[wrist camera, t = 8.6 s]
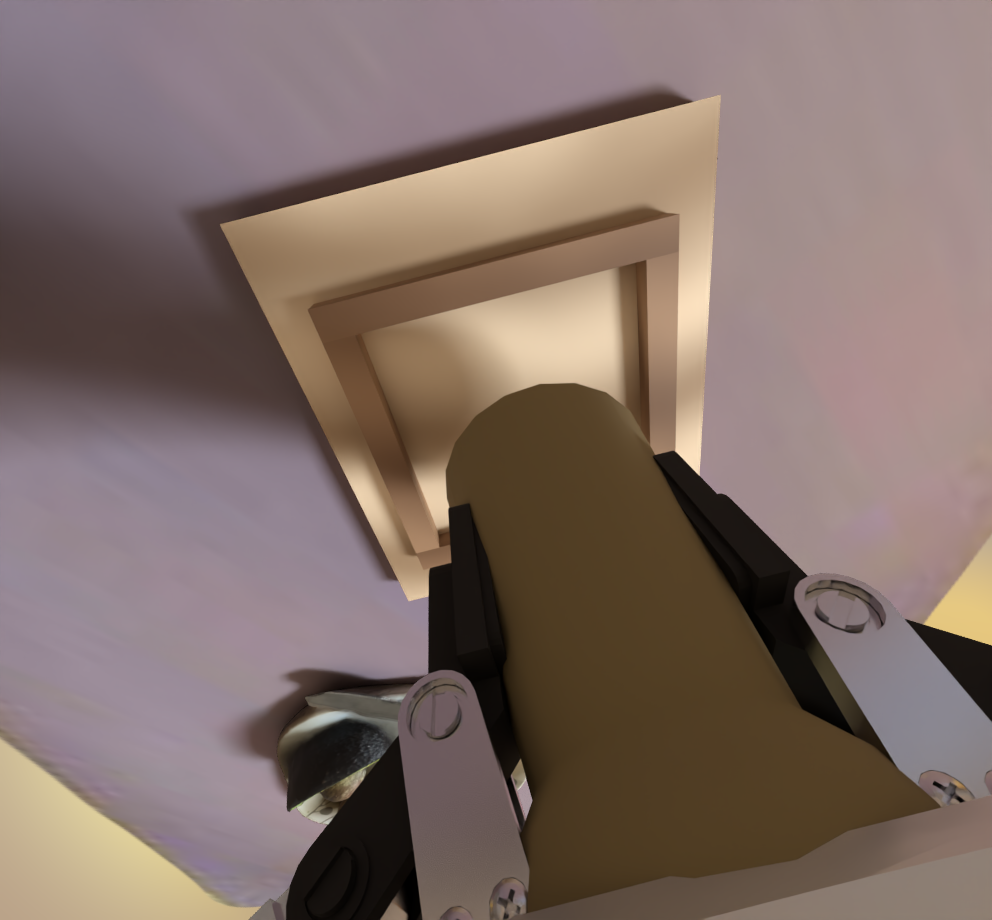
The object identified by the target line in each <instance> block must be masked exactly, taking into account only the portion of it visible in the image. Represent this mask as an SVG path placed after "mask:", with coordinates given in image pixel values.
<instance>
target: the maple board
mask: <svg viewBox="0 0 992 920" xmlns="http://www.w3.org/2000/svg"><path fill="white" fill-rule="evenodd" d="M720 99H721V95H718V96H714V97H710V98H706V99H703V100H699V101H695V102H691V103H687V104H683V105H679V106H676V107H672V108H668V109H664V110H660V111H656V112H652V113H648V114H645V115H641V116H637V117H633V118H629V119H625V120H621V121H618V122H614V123H610V124H606V125H602V126H598V127H594V128H590V129H587V130H583V131H579V132H575V133H571V134H567V135H563V136H560V137H556V138H552V139H548V140H544V141H540V142H536V143H532V144H529V145H525V146H521V147H517V148H513V149H509V150H505V151H501V152H498V153H494V154H490V155H486V156H482V157H478V158H474V159H471V160H467V161H463V162H459V163H455V164H451V165H447V166H443V167H440V168H436V169H432V170H428V171H424V172H420V173H416V174H413V175H409V176H405V177H401V178H397V179H393V180H389V181H385V182H382V183H378V184H374V185H370V186H366V187H362V188H358V189H355V190H351V191H347V192H343V193H339V194H335V195H331V196H327V197H324V198H320V199H316V200H312V201H308V202H304V203H300V204H297V205H293V206H289V207H285V208H281V209H277V210H273V211H269V212H266V213H262V214H258V215H254V216H250V217H246V218H242V219H239V220H235V221H231V222H227V223H223V224H220V226H221V228H222V230H223V232H224V234H225V236H226V238H227V240H228V242H229V244H230V246H231V248H232V250H233V252H234V254H235V256H236V258H237V260H238V262H239V264H240V266H241V268H242V270H243V272H244V274H245V276H246V278H247V280H248V282H249V284H250V286H251V288H252V290H253V292H254V294H255V296H256V298H257V300H258V302H259V304H260V306H261V308H262V310H263V312H264V314H265V316H266V318H267V320H268V322H269V324H270V326H271V328H272V330H273V332H274V334H275V336H276V338H277V340H278V342H279V344H280V346H281V348H282V350H283V352H284V354H285V356H286V357H287V359H288V361H289V363H290V365H291V367H292V369H293V371H294V373H295V375H296V377H297V379H298V381H299V383H300V385H301V387H302V389H303V391H304V393H305V395H306V397H307V399H308V401H309V403H310V405H311V407H312V409H313V411H314V413H315V415H316V417H317V419H318V421H319V423H320V425H321V427H322V429H323V431H324V433H325V435H326V437H327V439H328V441H329V443H330V445H331V447H332V449H333V451H334V453H335V455H336V457H337V459H338V461H339V463H340V465H341V467H342V469H343V471H344V473H345V475H346V477H347V479H348V481H349V483H350V485H351V487H352V489H353V491H354V493H355V495H356V497H357V499H358V501H359V503H360V505H361V507H362V509H363V511H364V513H365V515H366V517H367V519H368V521H369V523H370V525H371V527H372V529H373V531H374V533H375V535H376V537H377V539H378V541H379V543H380V545H381V547H382V549H383V551H384V553H385V555H386V557H387V559H388V561H389V563H390V565H391V567H392V569H393V571H394V573H395V575H396V577H397V579H398V581H399V583H400V585H401V587H402V589H403V591H404V593H405V595H406V597H407V599H408V601H412V600H416V599H419V598H423V597H427V596H429V570H430V568H432V567H436V566H440V565H444V564H448V563H451V550H450V533H449V516H448V509H449V504H448V501H447V494H446V468H447V465H448V462H449V459H450V456H451V453H452V450H453V447H454V444H455V442H456V441H457V439H458V438H459V437H460V435H461V434H462V433H463V431H464V430H465V429H466V428H467V426H468V425H469V424H470V422H471V421H472V420H473V419H474V417H475V416H476V415H478V414H479V413H481V412H482V411H483V410H485V409H486V408H488V407H489V406H491V405H492V404H493V403H495V402H496V401H498V400H499V399H501V398H502V397H503V396H505V395H508V394H511V393H514V392H517V391H520V390H523V389H526V388H529V387H532V386H535V385H538V384H554V383H577V384H580V385H584V386H587V387H590V388H594V389H597V390H600V391H603V392H607V393H608V394H609V395H610V396H612V397H613V398H614V399H616V400H617V401H618V402H620V403H621V404H622V405H623V406H625V407H626V408H627V409H629V410H630V411H631V413H632V415H633V417H634V418H635V420H636V422H637V424H638V425H639V427H640V429H641V431H642V432H643V434H644V436H645V438H646V439H647V441H648V443H649V444H650V446H651V448H652V450H653V451H654V453H655V455H657V454H661V453H665V452H669V451H675V452H677V453H678V454H679V455H680V456H681V457H682V458H683V459H684V460H685V461H686V462H687V464H688V465H689V466H690V467H691V468H692V469H693V470H694V471H695V472H696V473H697V474H698V475H699V473H700V455H701V437H702V419H703V402H704V384H705V366H706V348H707V330H708V313H709V295H710V277H711V259H712V241H713V223H714V206H715V188H716V170H717V152H718V134H719V116H720Z"/></svg>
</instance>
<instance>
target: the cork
mask: <svg viewBox="0 0 992 920" xmlns="http://www.w3.org/2000/svg"><path fill="white" fill-rule="evenodd" d="M653 455H655V453H654V451H653V450H652V448H651V446H650V444H649V443H648V441H647V439H646V438H645V436H644V434H643V432H642V431H641V429H640V427H639V425H638V424H637V422H636V420H635V418H634V417H633V415H632V413H631V411H630V410H629V409H627V408H626V407H625V406H623V405H622V404H621V403H620V402H618V401H617V400H616V399H614V398H613V397H612V396H610V395H609V394H608V393H607V392H603V391H600V390H597V389H594V388H590V387H587V386H584V385H580V384H577V383H554V384H538V385H535V386H532V387H529V388H526V389H523V390H520V391H517V392H514V393H511V394H508V395H505V396H503V397H502V398H501V399H499V400H498V401H496V402H495V403H493V404H492V405H491V406H489V407H488V408H486V409H485V410H483V411H482V412H481V413H479V414H478V415H476V416H475V417H474V419H473V420H472V421H471V422H470V424H469V425H468V426H467V428H466V429H465V430H464V431H463V433H462V434H461V435H460V437H459V438H458V439H457V441H456V442H455V444H454V447H453V450H452V453H451V456H450V459H449V462H448V465H447V468H446V494H447V501H448V504H449V508H451V507H455V506H458V505H462V504H466V503H470V509H471V515H472V518H473V520H474V523H475V526H476V528H477V531H478V533H479V536H480V539H481V541H482V544H483V546H484V549H485V551H486V554H487V558H488V563H489V568H490V573H491V578H492V584H493V589H494V594H495V599H496V605H497V610H498V615H499V620H500V625H501V631H502V636H503V641H504V646H505V652H506V657H507V660H506V662H505V663H504V665H503V671H502V683H503V687H504V692H505V697H506V702H507V707H508V712H509V717H510V722H511V726H512V730H513V733H514V737H515V740H516V744H517V747H518V751H519V754H520V758H521V761H522V765H523V768H524V772H525V775H526V779H527V782H528V786H529V790H530V793H531V797H532V800H533V801H532V804H531V807H530V810H529V813H528V815H527V818H526V821H525V824H524V827H523V830H522V832H521V834H522V841H523V845H524V849H525V853H526V857H527V861H528V865H529V885H528V913H530V912H534V911H538V910H542V909H546V908H550V907H554V906H557V905H561V904H565V903H569V902H573V901H577V900H580V899H584V898H588V897H592V896H596V895H600V894H604V893H607V892H611V891H615V890H619V889H623V888H627V887H630V886H634V885H638V884H642V883H646V882H650V881H654V880H657V879H661V878H665V877H669V876H673V877H685V878H699V877H704V876H710V875H716V874H721V873H727V872H732V871H738V870H743V869H749V868H754V867H760V866H766V865H771V864H777V863H782V862H788V861H793V860H797V859H799V858H801V857H803V856H804V855H806V854H808V853H810V852H811V851H813V850H815V849H817V848H818V847H820V846H822V845H824V844H825V843H827V842H829V841H831V840H833V839H834V838H836V837H838V836H840V835H841V834H843V833H845V832H847V831H850V830H854V829H858V828H862V827H866V826H870V825H874V824H878V823H882V822H886V821H890V820H894V819H898V818H902V817H906V816H910V815H914V814H918V813H922V812H926V811H930V810H934V809H938V808H942V807H941V806H940V805H939V804H938V803H937V802H936V801H935V800H934V799H933V798H932V797H931V796H929V795H928V794H927V793H926V792H925V791H924V790H923V789H922V788H920V787H919V786H918V785H917V784H916V783H914V782H913V781H912V780H911V779H910V778H909V777H907V776H906V775H905V774H904V773H903V772H901V771H900V770H899V769H898V768H897V767H896V766H895V765H894V764H893V763H892V762H891V761H890V760H889V759H888V758H887V757H886V756H885V755H884V754H883V753H882V752H880V751H879V750H878V749H877V748H876V747H875V746H873V745H871V744H869V743H867V742H865V741H863V740H861V739H859V738H857V737H855V736H853V735H851V734H849V733H847V732H846V731H844V730H842V729H840V728H838V727H836V726H834V725H832V724H830V723H828V722H826V721H824V720H822V719H820V718H818V717H816V716H814V715H812V714H810V713H808V712H806V711H804V710H803V709H802V708H801V706H800V705H799V703H798V701H797V700H796V698H795V696H794V694H793V693H792V691H791V689H790V687H789V686H788V684H787V682H786V680H785V679H784V677H783V675H782V674H781V672H780V670H779V668H778V667H777V665H776V663H775V661H774V660H773V658H772V656H771V654H770V653H769V651H768V649H767V647H766V646H765V644H764V642H763V641H762V639H761V637H760V635H759V634H758V632H757V630H756V628H755V627H754V625H753V623H752V621H751V620H750V618H749V616H748V615H747V613H746V611H745V609H744V608H743V606H742V604H741V602H740V601H739V599H738V597H737V595H736V594H735V592H734V590H733V588H732V587H731V585H730V583H729V582H728V580H727V578H726V576H725V575H724V573H723V572H722V570H721V568H720V567H719V565H718V564H717V562H716V561H715V559H714V558H713V556H712V555H711V553H710V551H709V550H708V548H707V547H706V545H705V544H704V542H703V541H702V539H701V538H700V536H699V534H698V533H697V531H696V530H695V528H694V527H693V525H692V524H691V522H690V521H689V519H688V517H687V516H686V514H685V513H684V511H683V510H682V508H681V507H680V505H679V504H678V502H677V500H676V498H675V496H674V494H673V492H672V490H671V488H670V486H669V484H668V482H667V480H666V478H665V476H664V474H663V472H662V470H661V468H660V466H659V465H658V464H657V462H656V461H655V459H654V458H653Z"/></svg>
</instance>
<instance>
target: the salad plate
mask: <svg viewBox="0 0 992 920" xmlns="http://www.w3.org/2000/svg"><path fill="white" fill-rule="evenodd" d="M413 685H414V684H394V685H378V686H365V687H356V688H348V689H343V690H339V691H329V692H323V693H319V694H315V695H311V696H308V697H305V698H306V701H307V702H308V706H306V707H305V708H304V709H302V710H301V711H300V712H299V713H298V714H297V715H296V716H295V717H294V718H293V719H292V720H291V721H290V722H289V723H288V724H287V725H286V726H285V728H284V729H283V730H282V732H281V734H280V736H279V739H278V746H277V757H278V760H279V763H280V766H281V769H282V771H283V773H284V777H285V780H286V781H287V783H288V792H287V810H288V811H289V812H290V811H291V810H293V809H294V808H297V810H298V811H299V812H300V813H301V814H302V815H303V816H304V817H306V818H308V819H309V820H312V821H314V822H318V823H320V824H326V825H328V824H329V823H330V821H331V820H332V819H333V818H334V816H335V815H336V814H337V813H338V811H339V810H340V809H341V807H342V806H343V805H344V804H345V802H346V801H347V800H348V799H349V797H350V796H351V795H352V793H353V792H354V791H355V790H356V788H357V787H358V786H359V785H360V783H361V782H362V781H363V780H364V778H365V777H366V776H367V774H368V773H369V772H370V771H371V769H372V768H373V767H374V766H375V764H376V763H377V762H378V760H379V759H380V758H381V757H382V755H383V754H384V753H385V752H386V750H387V749H388V748H389V746H390V745H391V744H392V743H393V741H394V740H395V739H396V738H397V736H398V735H399V734H398V713H399V710H400V706H401V703H402V701H403V699H404V697H405V696H406V694H407V692H408V691H409V689H410V688H411V687H412V686H413ZM512 776H513V779H514V783H515V786H516V789H517V790H518V789H519V788H520V787H521V786H522V785H523V783H524V782H525V780H526V775H525V772H524V768H523V765H522V761H521V759H520V761H519V762H518V764H517V766H516V768H515V769H514V771H513V773H512Z"/></svg>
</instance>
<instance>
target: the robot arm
mask: <svg viewBox="0 0 992 920" xmlns="http://www.w3.org/2000/svg"><path fill="white" fill-rule="evenodd" d="M653 458H654V459H655V461H656V462H657V464H658V465H659V466H660V468H661V470H662V472H663V474H664V476H665V478H666V480H667V482H668V484H669V486H670V488H671V490H672V492H673V494H674V496H675V498H676V500H677V502H678V504H679V505H680V507H681V508H682V510H683V511H684V513H685V514H686V516H687V517H688V519H689V521H690V522H691V524H692V525H693V527H694V528H695V530H696V531H697V533H698V534H699V536H700V538H701V539H702V541H703V542H704V544H705V545H706V547H707V548H708V550H709V551H710V553H711V555H712V556H713V558H714V559H715V561H716V562H717V564H718V565H719V567H720V568H721V570H722V572H723V573H724V575H725V576H726V578H727V580H728V582H729V583H730V585H731V587H732V588H733V590H734V592H735V594H736V595H737V597H738V599H739V601H740V602H741V604H742V606H743V608H744V609H745V611H746V613H747V615H748V616H749V618H750V620H751V621H752V623H753V625H754V627H755V628H756V630H757V632H758V634H759V635H760V637H761V639H762V641H763V642H764V644H765V646H766V647H767V649H768V651H769V653H770V654H771V656H772V658H773V660H774V661H775V663H776V665H777V667H778V668H779V670H780V672H781V674H782V675H783V677H784V679H785V680H786V682H787V684H788V686H789V687H790V689H791V691H792V693H793V694H794V696H795V698H796V700H797V701H798V703H799V705H800V706H801V708H802V709H803V710H804V711H806V712H808V713H810V714H812V715H814V716H816V717H818V718H820V719H822V720H824V721H826V722H828V723H830V724H832V725H834V726H836V727H838V728H840V729H842V730H844V731H846V732H847V733H849V734H851V735H853V736H855V737H857V738H859V739H861V740H863V741H865V742H867V743H869V744H871V745H873V746H875V747H876V748H877V749H878V750H879V751H880V752H882V753H883V754H884V755H885V756H886V757H887V758H888V759H889V760H890V761H891V762H892V763H893V764H894V765H895V766H896V767H897V768H898V769H899V770H900V771H901V772H903V773H904V774H905V775H906V776H907V777H909V778H910V779H911V780H912V781H913V782H914V783H916V784H917V785H918V786H919V787H920V788H922V789H923V790H924V791H925V792H926V793H927V794H928V795H929V796H931V797H932V798H933V799H934V800H935V801H936V802H937V803H938V804H939V805H940V806H941V807H942V808H938V809H934V810H930V811H926V812H922V813H918V814H914V815H910V816H906V817H902V818H898V819H894V820H890V821H886V822H882V823H878V824H874V825H870V826H866V827H862V828H858V829H854V830H850V831H847V832H845V833H843V834H841V835H840V836H838V837H836V838H834V839H833V840H831V841H829V842H827V843H825V844H824V845H822V846H820V847H818V848H817V849H815V850H813V851H811V852H810V853H808V854H806V855H804V856H803V857H801V858H799V859H797V860H793V861H788V862H782V863H777V864H771V865H766V866H760V867H754V868H749V869H743V870H738V871H732V872H727V873H721V874H716V875H710V876H704V877H699V878H685V877H673V876H669V877H665V878H661V879H657V880H654V881H650V882H646V883H642V884H638V885H634V886H630V887H627V888H623V889H619V890H615V891H611V892H607V893H604V894H600V895H596V896H592V897H588V898H584V899H580V900H577V901H573V902H569V903H565V904H561V905H557V906H554V907H550V908H546V909H542V910H538V911H534V912H530V913H528V885H529V865H528V861H527V857H526V853H525V849H524V845H523V841H522V834H521V832H522V830H523V827H524V824H525V821H526V816H525V813H524V810H523V807H522V804H521V801H520V798H519V795H518V792H517V789H516V786H515V783H514V779H513V776H512V773H513V771H514V769H515V768H516V766H517V764H518V762H519V761H520V759H521V758H520V754H519V751H518V747H517V744H516V740H515V737H514V733H513V730H512V726H511V722H510V717H509V712H508V707H507V702H506V697H505V692H504V687H503V683H502V671H503V665H504V663H505V662H506V660H507V657H506V652H505V646H504V641H503V636H502V631H501V625H500V620H499V615H498V610H497V605H496V599H495V594H494V589H493V584H492V578H491V573H490V568H489V563H488V558H487V554H486V551H485V549H484V546H483V544H482V541H481V539H480V536H479V533H478V531H477V528H476V526H475V523H474V520H473V518H472V515H471V509H470V503H466V504H462V505H458V506H455V507H451V508H449V509H448V516H449V533H450V550H451V563H448V564H444V565H440V566H436V567H432V568H430V570H429V657H428V675H426V676H424V677H423V678H421V679H420V680H418V681H417V682H416V683H415V684H414V685H413V686H412V687H411V688H410V689H409V691H408V692H407V694H406V696H405V697H404V699H403V701H402V703H401V706H400V710H399V713H398V734H399V735H398V736H397V738H396V739H395V740H394V741H393V743H392V744H391V745H390V746H389V748H388V749H387V750H386V752H385V753H384V754H383V755H382V757H381V758H380V759H379V760H378V762H377V763H376V764H375V766H374V767H373V768H372V769H371V771H370V772H369V773H368V774H367V776H366V777H365V778H364V780H363V781H362V782H361V783H360V785H359V786H358V787H357V788H356V790H355V791H354V792H353V793H352V795H351V796H350V797H349V799H348V800H347V801H346V802H345V804H344V805H343V806H342V807H341V809H340V810H339V811H338V813H337V814H336V815H335V816H334V818H333V819H332V820H331V821H330V823H329V824H328V825H327V827H326V828H325V829H324V830H323V832H322V833H321V834H320V835H319V837H318V838H317V839H316V841H315V842H314V843H313V844H312V846H311V847H310V848H309V850H308V851H307V853H306V854H305V856H304V857H303V859H302V861H301V862H300V864H299V865H298V867H297V870H296V872H295V875H294V877H293V880H292V882H291V884H290V887H289V888H288V889H287V890H286V891H285V892H284V893H283V894H282V895H281V896H280V897H279V898H278V899H277V900H276V901H274V900H272V899H269V900H268V901H267V902H266V903H265V904H264V905H263V906H262V907H261V908H260V909H259V910H258V911H257V912H256V913H255V914H254V915H253V916H252V917H251V918H250V919H249V920H992V646H991V645H988V644H985V643H981V642H978V641H975V640H972V639H969V638H965V637H962V636H959V635H955V634H952V633H949V632H946V631H942V630H939V629H936V628H933V627H929V626H926V625H923V624H920V623H916V622H913V621H910V620H907V619H904V618H903V617H902V615H901V614H900V613H899V612H898V611H897V610H896V608H895V607H894V606H893V605H892V604H891V602H890V601H889V600H888V599H886V598H885V597H884V596H883V595H882V594H881V593H880V592H879V591H877V590H876V589H874V588H872V587H871V586H869V585H867V584H866V583H864V582H861V581H859V580H856V579H854V578H851V577H848V576H843V575H838V574H825V573H820V574H815V575H811V576H807V575H806V574H805V573H804V572H803V571H802V570H801V569H800V568H799V567H798V566H797V565H796V564H795V563H794V562H793V561H792V560H791V559H790V558H789V557H788V556H787V555H786V554H785V553H784V552H783V551H782V550H781V549H780V548H779V547H778V546H777V545H776V544H775V543H774V542H773V541H772V540H771V539H770V538H769V537H768V536H767V535H766V534H765V533H764V532H763V531H762V530H761V529H760V528H759V527H758V526H757V525H756V524H755V523H754V522H753V521H752V520H751V519H750V518H749V517H748V516H747V515H746V514H745V513H744V512H743V511H742V510H741V509H740V508H739V507H738V506H737V505H736V504H735V503H734V502H733V501H732V500H731V499H730V498H729V497H728V496H726V495H724V494H717V493H716V492H715V491H714V490H713V489H712V488H711V487H710V486H709V485H708V484H707V483H706V482H705V481H704V480H703V479H702V478H701V477H700V476H699V475H698V474H697V473H696V472H695V471H694V470H693V469H692V468H691V467H690V466H689V465H688V464H687V462H686V461H685V460H684V459H683V458H682V457H681V456H680V455H679V454H678V453H677V452H675V451H669V452H665V453H661V454H657V455H653Z"/></svg>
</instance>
